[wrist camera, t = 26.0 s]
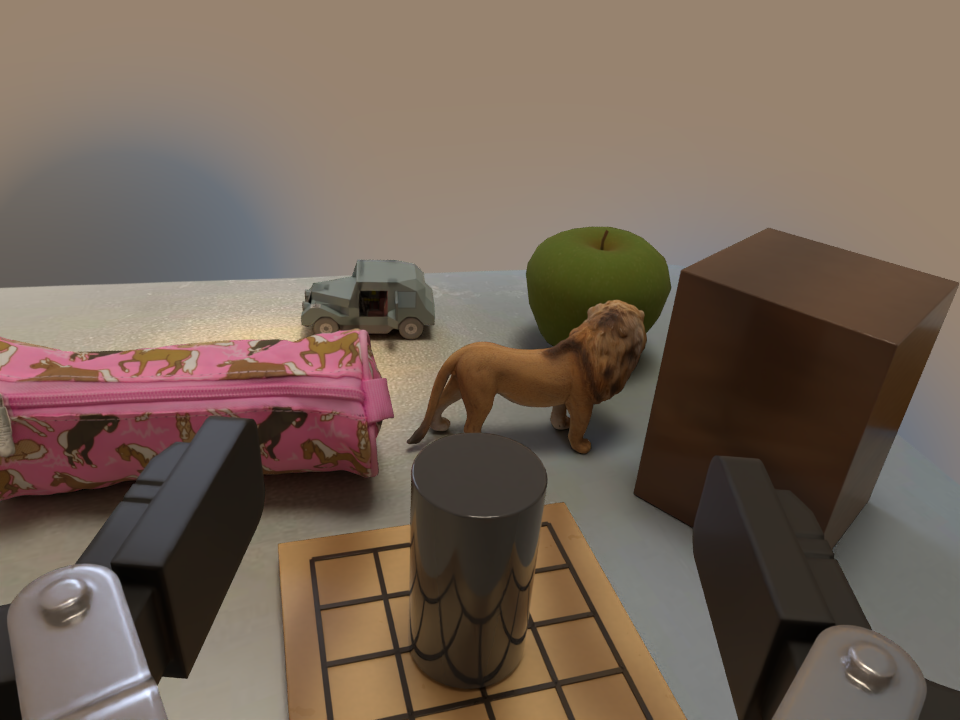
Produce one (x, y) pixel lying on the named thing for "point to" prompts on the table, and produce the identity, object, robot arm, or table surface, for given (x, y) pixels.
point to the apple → (593, 278)
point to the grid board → (425, 702)
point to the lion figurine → (544, 374)
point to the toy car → (372, 300)
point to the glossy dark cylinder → (473, 556)
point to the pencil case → (185, 407)
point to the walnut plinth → (789, 372)
